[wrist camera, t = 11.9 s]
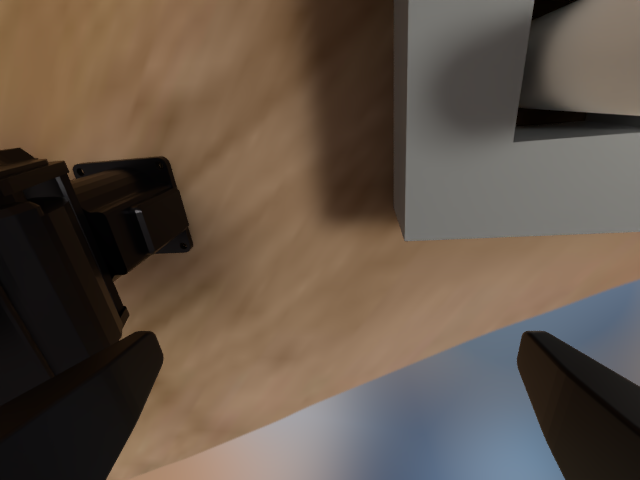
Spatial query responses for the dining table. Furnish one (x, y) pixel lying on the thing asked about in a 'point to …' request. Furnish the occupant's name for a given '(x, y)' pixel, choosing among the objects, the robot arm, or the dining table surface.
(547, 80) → the peg
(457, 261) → the dining table surface
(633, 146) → the socket block
